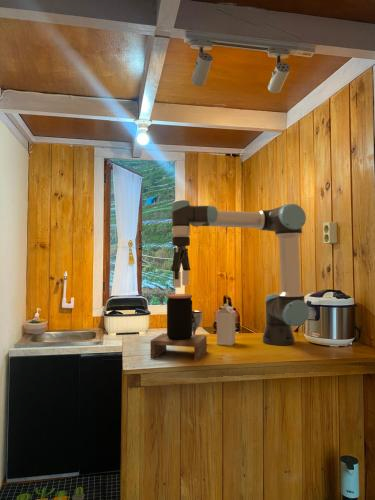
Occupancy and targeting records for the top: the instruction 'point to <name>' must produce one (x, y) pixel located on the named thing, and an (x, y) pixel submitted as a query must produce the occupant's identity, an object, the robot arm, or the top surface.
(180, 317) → the coffee jar
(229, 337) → the milk carton
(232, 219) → the robot arm
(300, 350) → the top surface
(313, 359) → the top surface
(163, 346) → the walnut shelf
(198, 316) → the wine glass
